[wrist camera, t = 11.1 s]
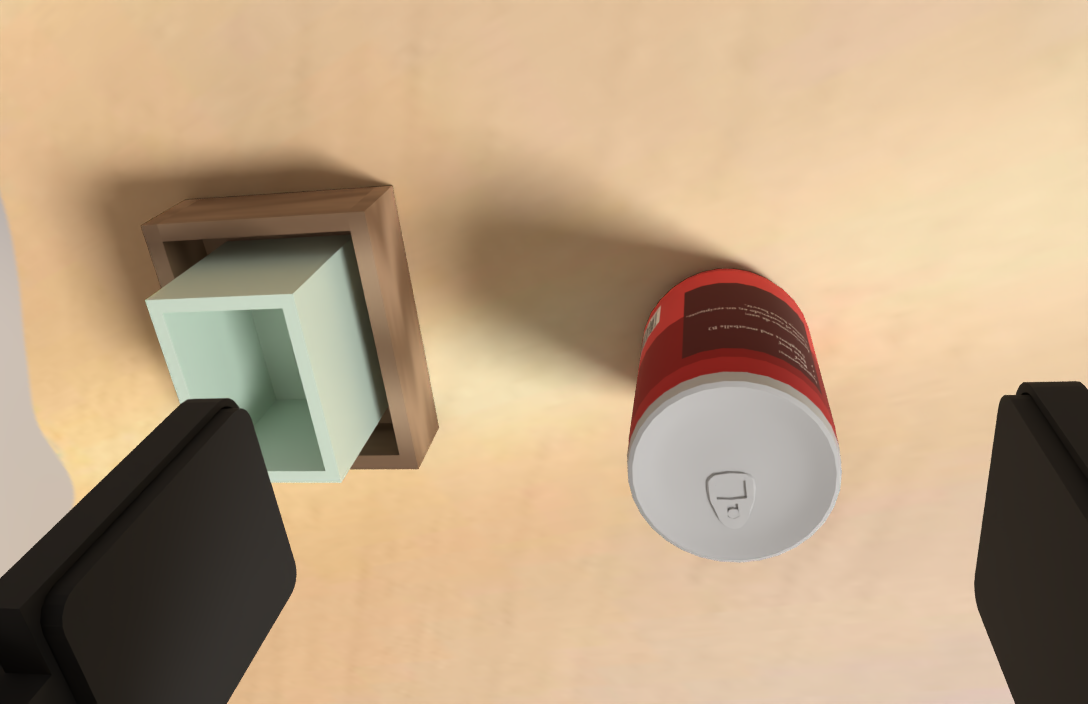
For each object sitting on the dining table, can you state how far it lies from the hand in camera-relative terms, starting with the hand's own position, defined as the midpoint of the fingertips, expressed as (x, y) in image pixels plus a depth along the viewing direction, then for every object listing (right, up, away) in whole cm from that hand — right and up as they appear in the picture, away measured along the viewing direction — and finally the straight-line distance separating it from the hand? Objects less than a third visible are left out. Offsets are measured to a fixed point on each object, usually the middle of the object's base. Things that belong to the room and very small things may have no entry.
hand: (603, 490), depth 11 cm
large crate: (-12, +3, +33) cm, 35 cm away
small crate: (-12, +3, +32) cm, 34 cm away
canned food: (+8, +2, +30) cm, 31 cm away
